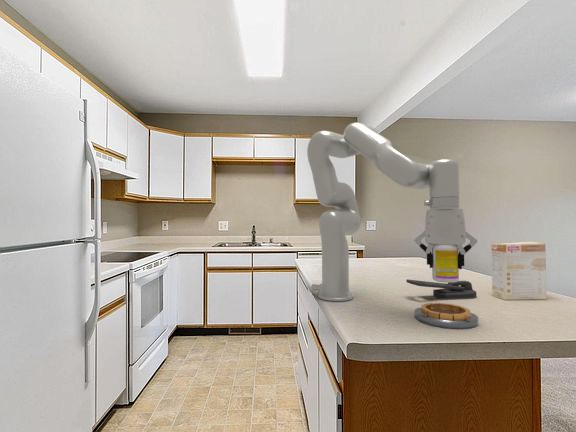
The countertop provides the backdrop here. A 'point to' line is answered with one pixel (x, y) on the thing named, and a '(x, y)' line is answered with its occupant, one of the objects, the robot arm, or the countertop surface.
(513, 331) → the countertop surface
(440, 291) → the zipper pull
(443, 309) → the rosette plate
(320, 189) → the robot arm
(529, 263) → the coffeecake box
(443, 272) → the supplement bottle
